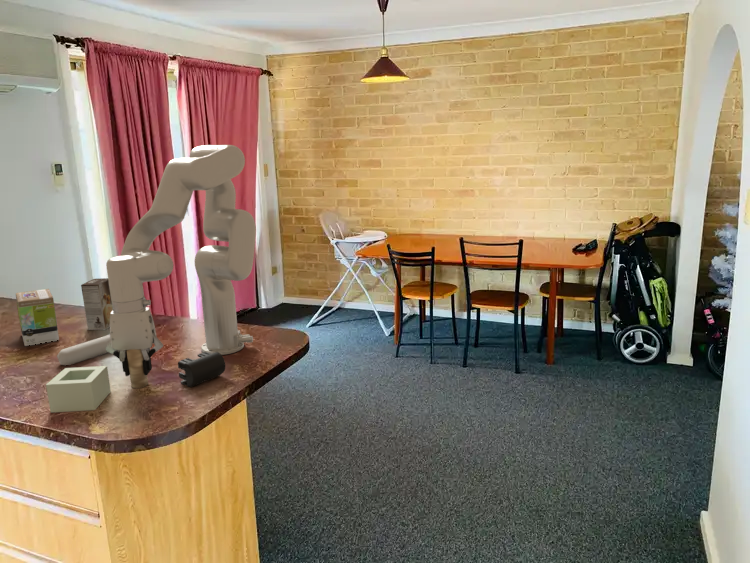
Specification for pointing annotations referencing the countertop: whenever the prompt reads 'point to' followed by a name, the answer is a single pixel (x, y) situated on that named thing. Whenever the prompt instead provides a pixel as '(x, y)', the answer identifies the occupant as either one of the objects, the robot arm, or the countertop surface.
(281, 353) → the countertop surface
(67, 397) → the socket block
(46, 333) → the tea box
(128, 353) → the peg
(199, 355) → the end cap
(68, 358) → the tube
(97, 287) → the coffee box
